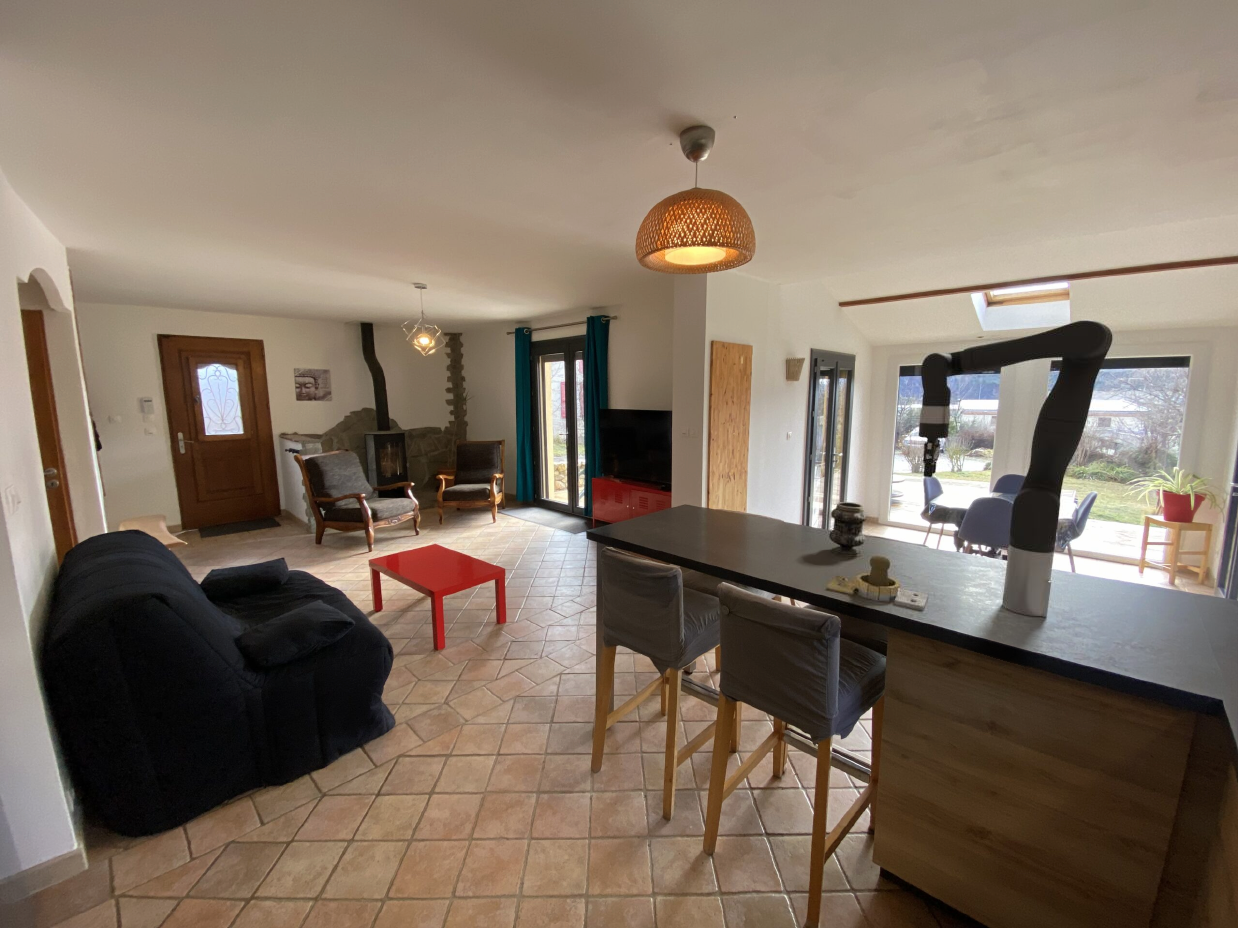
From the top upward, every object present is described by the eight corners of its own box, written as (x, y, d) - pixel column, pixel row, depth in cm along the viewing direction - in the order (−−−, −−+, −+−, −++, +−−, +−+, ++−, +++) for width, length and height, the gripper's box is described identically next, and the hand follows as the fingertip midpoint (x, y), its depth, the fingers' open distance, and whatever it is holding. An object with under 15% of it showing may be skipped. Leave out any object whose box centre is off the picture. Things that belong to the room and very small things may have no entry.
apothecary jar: (868, 558, 174) (872, 508, 171) (832, 556, 176) (835, 507, 174) (859, 548, 186) (862, 501, 183) (825, 546, 188) (828, 500, 185)
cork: (866, 595, 142) (869, 559, 141) (865, 588, 148) (867, 552, 146) (890, 599, 140) (893, 561, 138) (887, 591, 146) (890, 555, 144)
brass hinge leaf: (901, 592, 145) (902, 579, 144) (894, 604, 136) (895, 590, 136) (837, 578, 156) (837, 566, 155) (827, 589, 147) (828, 576, 147)
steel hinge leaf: (928, 597, 141) (929, 591, 141) (923, 611, 132) (924, 604, 132) (860, 583, 152) (861, 577, 151) (851, 594, 143) (852, 588, 143)
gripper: (947, 423, 140) (941, 479, 142) (951, 420, 151) (946, 473, 153) (916, 422, 144) (911, 477, 147) (922, 420, 156) (918, 470, 158)
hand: (929, 475), depth 150 cm, fingers open, 8 cm apart
